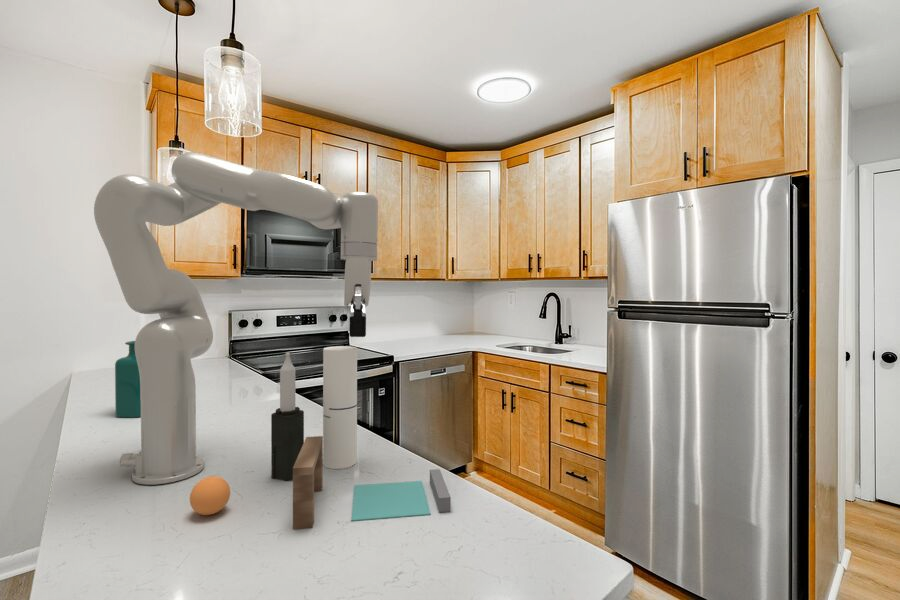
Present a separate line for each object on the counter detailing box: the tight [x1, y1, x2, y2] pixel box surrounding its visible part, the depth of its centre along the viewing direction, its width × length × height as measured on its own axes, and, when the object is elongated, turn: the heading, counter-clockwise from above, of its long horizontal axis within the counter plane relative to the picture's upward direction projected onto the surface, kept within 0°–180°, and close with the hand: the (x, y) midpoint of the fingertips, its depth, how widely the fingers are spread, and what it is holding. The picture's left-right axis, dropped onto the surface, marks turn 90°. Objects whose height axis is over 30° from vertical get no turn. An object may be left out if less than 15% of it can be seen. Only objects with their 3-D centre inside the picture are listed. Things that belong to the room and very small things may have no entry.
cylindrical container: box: [322, 345, 358, 470], centre depth 97 cm, size 7×7×25 cm
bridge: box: [292, 435, 324, 530], centre depth 78 cm, size 3×15×10 cm, turn 10°
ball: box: [189, 475, 231, 516], centre depth 75 cm, size 6×6×6 cm
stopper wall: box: [429, 468, 452, 513], centre depth 82 cm, size 2×12×2 cm, turn 10°
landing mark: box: [351, 480, 431, 522], centre depth 80 cm, size 13×13×1 cm
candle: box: [270, 351, 305, 482], centre depth 90 cm, size 5×5×25 cm
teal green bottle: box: [114, 340, 141, 419], centre depth 133 cm, size 10×8×22 cm
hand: (357, 334), depth 94 cm, fingers open, 9 cm apart
